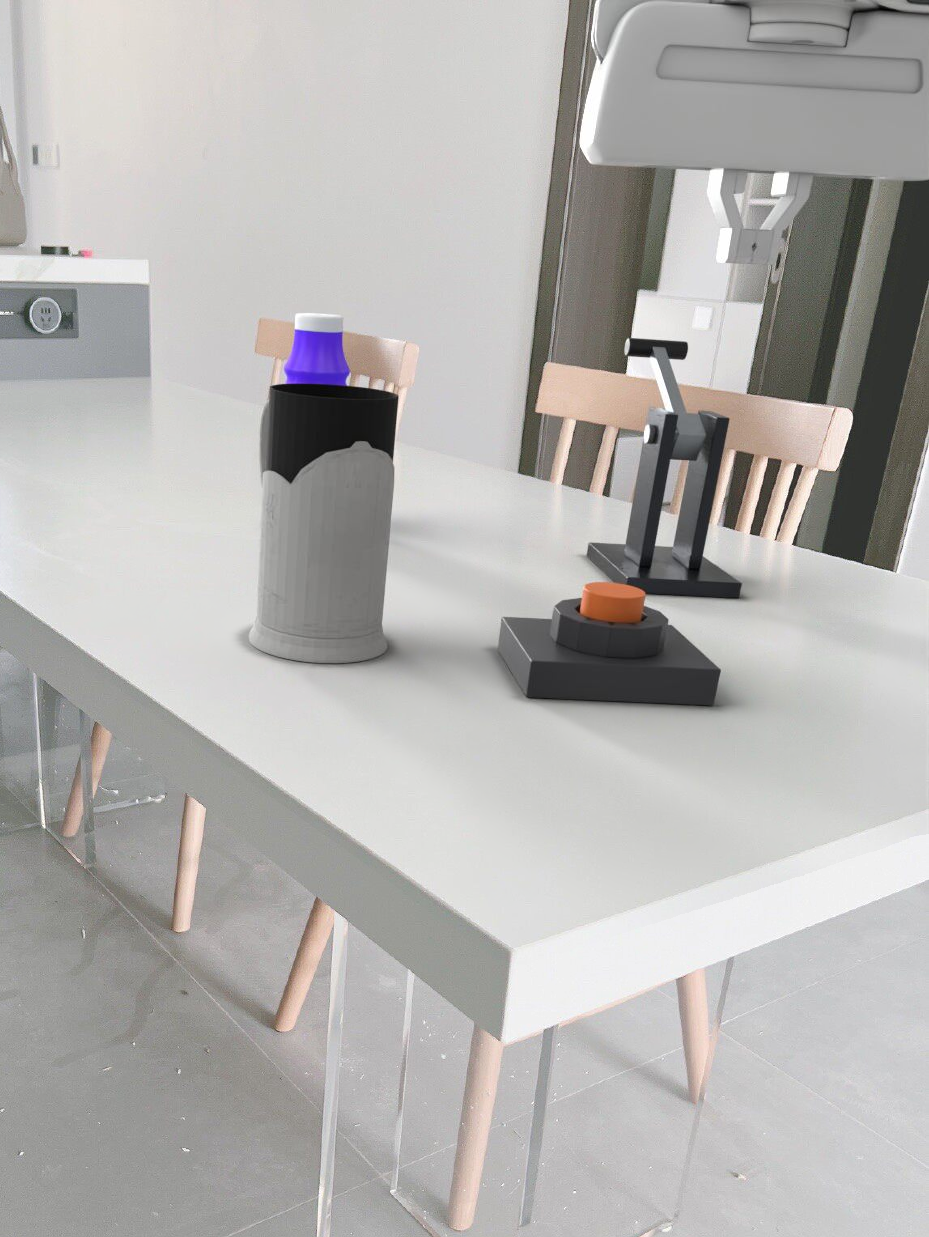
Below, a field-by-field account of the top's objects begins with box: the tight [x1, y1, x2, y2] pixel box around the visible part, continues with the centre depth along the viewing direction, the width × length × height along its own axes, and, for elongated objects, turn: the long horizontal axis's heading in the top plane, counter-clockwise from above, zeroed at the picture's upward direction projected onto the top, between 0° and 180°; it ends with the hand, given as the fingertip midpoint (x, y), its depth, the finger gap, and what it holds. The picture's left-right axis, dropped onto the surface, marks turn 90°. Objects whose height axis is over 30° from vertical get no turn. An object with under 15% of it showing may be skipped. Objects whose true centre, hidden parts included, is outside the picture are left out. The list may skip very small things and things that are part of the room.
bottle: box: [283, 312, 351, 386], centre depth 106 cm, size 7×6×17 cm
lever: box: [623, 337, 706, 462], centre depth 98 cm, size 14×5×2 cm, turn 3°
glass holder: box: [248, 383, 399, 664], centre depth 76 cm, size 9×14×15 cm, turn 26°
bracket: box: [586, 406, 743, 599], centre depth 96 cm, size 12×9×13 cm
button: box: [580, 581, 647, 623], centre depth 72 cm, size 4×4×2 cm
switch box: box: [497, 597, 722, 706], centre depth 73 cm, size 11×9×4 cm
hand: (745, 263), depth 69 cm, fingers closed
